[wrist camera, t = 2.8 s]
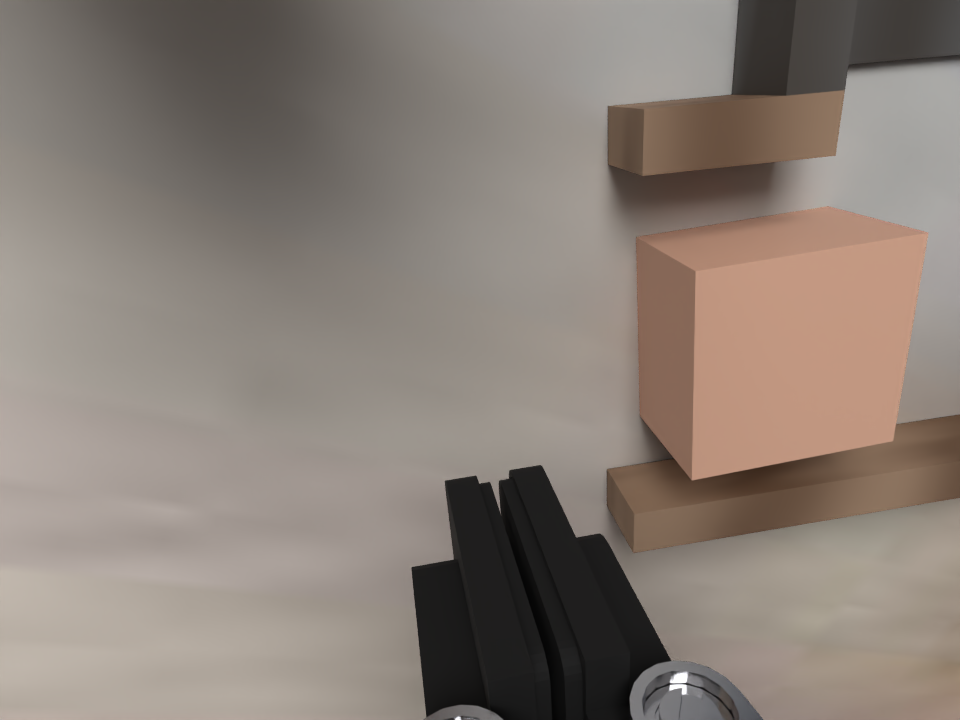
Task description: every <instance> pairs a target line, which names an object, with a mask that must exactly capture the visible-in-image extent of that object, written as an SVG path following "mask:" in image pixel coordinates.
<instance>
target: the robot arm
mask: <svg viewBox="0 0 960 720" xmlns="http://www.w3.org/2000/svg"><path fill="white" fill-rule="evenodd" d="M445 488H446V497H447V505H448V513H449V521H450V530H451V538H452V546H453V554H454V560H450V561H444V562H439V563H433V564H427V565H422V566H416V567H412V578H413V588H414V598H415V608H416V618H417V628H418V637H419V647H420V657H421V667H422V677H423V687H424V697H425V707H426V716H427V717H426V718H425V719H424V720H763V719H762V717H761V716H760V715H759V714H758V713H757V711H756V710H755V709H754V708H753V706H752V705H751V704H750V703H749V701H748V700H747V699H746V698H745V697H744V695H743V694H742V693H741V692H740V691H739V690H738V689H737V688H736V687H735V686H734V685H733V684H732V683H731V682H730V681H729V680H728V679H727V678H726V677H724V676H723V675H721V674H719V673H718V672H716V671H714V670H712V669H711V668H709V667H706V666H703V665H700V664H696V663H693V662H687V661H671V659H670V658H669V656H668V654H667V652H666V650H665V648H664V646H663V645H662V643H661V641H660V639H659V637H658V635H657V633H656V631H655V630H654V628H653V626H652V624H651V622H650V620H649V618H648V617H647V615H646V613H645V611H644V609H643V607H642V605H641V603H640V602H639V600H638V598H637V596H636V594H635V592H634V590H633V589H632V587H631V585H630V583H629V581H628V579H627V577H626V576H625V574H624V572H623V570H622V568H621V566H620V564H619V562H618V561H617V559H616V557H615V555H614V553H613V551H612V549H611V548H610V546H609V544H608V542H607V541H606V539H605V538H604V536H603V535H601V534H595V535H589V536H583V537H578V538H576V536H575V534H574V532H573V530H572V528H571V526H570V524H569V522H568V520H567V517H566V515H565V513H564V511H563V509H562V507H561V505H560V503H559V500H558V498H557V496H556V494H555V492H554V490H553V488H552V486H551V484H550V481H549V479H548V477H547V475H546V473H545V471H544V469H543V467H542V466H541V465H538V466H532V467H526V468H520V469H514V470H510V471H509V479H506V480H499V495H500V508H501V514H500V511H499V508H498V505H497V502H496V499H495V496H494V492H493V489H492V486H491V484H490V482H487V483H481V484H479V482H478V479H477V476H471V477H465V478H459V479H453V480H447V481H445Z"/></svg>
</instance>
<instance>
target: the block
mask: <svg viewBox="0 0 960 720" xmlns="http://www.w3.org/2000/svg"><path fill="white" fill-rule="evenodd" d="M927 238H928V232H924V231H920V230H916V229H912V228H909V227H905V226H901V225H897V224H893V223H890V222H886V221H882V220H878V219H874V218H871V217H867V216H863V215H859V214H855V213H851V212H848V211H844V210H840V209H836V208H832V207H829V206H827V207H821V208H815V209H808V210H802V211H796V212H790V213H783V214H777V215H771V216H765V217H758V218H752V219H746V220H740V221H733V222H727V223H721V224H715V225H708V226H702V227H696V228H690V229H683V230H677V231H671V232H665V233H658V234H652V235H646V236H640V237H636V254H637V302H638V351H639V399H640V416H641V418H642V419H643V420H644V421H645V423H646V424H647V425H648V426H649V428H650V429H651V430H652V431H653V433H654V434H655V435H656V436H657V438H658V439H659V440H660V441H661V443H662V444H663V445H664V446H665V448H666V449H667V450H668V451H669V453H670V454H671V455H672V456H673V458H674V459H675V460H676V461H677V463H678V464H679V465H680V466H681V468H682V469H683V470H684V471H685V473H686V474H687V475H688V476H689V478H690V479H691V480H697V479H702V478H707V477H712V476H717V475H722V474H728V473H733V472H738V471H743V470H748V469H753V468H758V467H763V466H769V465H774V464H779V463H784V462H789V461H794V460H799V459H804V458H809V457H815V456H820V455H825V454H830V453H835V452H840V451H845V450H850V449H855V448H861V447H866V446H871V445H876V444H881V443H886V442H891V441H893V439H894V433H895V427H896V421H897V415H898V409H899V403H900V397H901V392H902V386H903V380H904V374H905V368H906V362H907V356H908V350H909V344H910V338H911V333H912V327H913V321H914V315H915V309H916V303H917V297H918V291H919V285H920V280H921V274H922V268H923V262H924V256H925V250H926V244H927Z"/></svg>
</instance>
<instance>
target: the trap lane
mask: <svg viewBox="0 0 960 720" xmlns="http://www.w3.org/2000/svg"><path fill="white" fill-rule="evenodd" d="M950 55H960V0H739V12H738V25H737V38H736V51H735V64H734V78H733V91H732V95H723V96H713V97H702V98H691V99H680V100H670V101H659V102H648V103H637V104H627V105H616V106H608V165H611V166H614V167H617V168H620V169H623V170H626V171H629V172H632V173H635V174H638V175H641V176H647V175H656V174H666V173H675V172H685V171H694V170H704V169H713V168H723V167H732V166H742V165H751V164H761V163H770V162H780V161H789V160H799V159H808V158H818V157H827V156H835V155H836V148H837V141H838V134H839V127H840V120H841V113H842V106H843V99H844V92H845V85H846V78H847V71H848V65H849V64H860V63H872V62H883V61H894V60H905V59H916V58H927V57H939V56H950ZM954 498H960V415H954V416H948V417H941V418H935V419H928V420H922V421H915V422H909V423H902V424H896V427H895V433H894V439H893V441H891V442H886V443H881V444H876V445H871V446H866V447H861V448H855V449H850V450H845V451H840V452H835V453H830V454H825V455H820V456H815V457H809V458H804V459H799V460H794V461H789V462H784V463H779V464H774V465H769V466H763V467H758V468H753V469H748V470H743V471H738V472H733V473H728V474H722V475H717V476H712V477H707V478H702V479H697V480H691V479H690V478H689V476H688V475H687V474H686V473H685V471H684V470H683V469H682V468H681V466H680V465H679V464H678V463H677V461H676V460H675V459H670V460H663V461H657V462H650V463H644V464H638V465H631V466H625V467H618V468H612V469H607V506H608V508H609V510H610V512H611V513H612V515H613V517H614V519H615V521H616V522H617V524H618V526H619V528H620V530H621V531H622V533H623V535H624V537H625V539H626V541H627V542H628V544H629V546H630V548H631V550H632V551H633V553H637V552H642V551H648V550H654V549H660V548H666V547H672V546H678V545H684V544H690V543H695V542H701V541H707V540H713V539H719V538H725V537H731V536H737V535H743V534H748V533H754V532H760V531H766V530H772V529H778V528H784V527H790V526H796V525H801V524H807V523H813V522H819V521H825V520H831V519H837V518H843V517H848V516H854V515H860V514H866V513H872V512H878V511H884V510H890V509H896V508H901V507H907V506H913V505H919V504H925V503H931V502H937V501H943V500H949V499H954Z"/></svg>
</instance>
